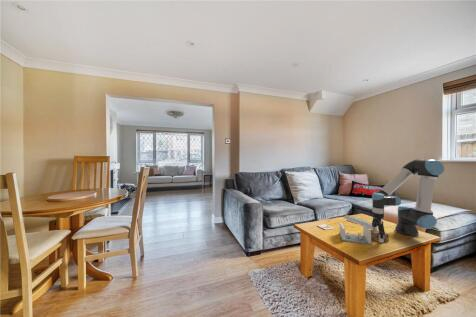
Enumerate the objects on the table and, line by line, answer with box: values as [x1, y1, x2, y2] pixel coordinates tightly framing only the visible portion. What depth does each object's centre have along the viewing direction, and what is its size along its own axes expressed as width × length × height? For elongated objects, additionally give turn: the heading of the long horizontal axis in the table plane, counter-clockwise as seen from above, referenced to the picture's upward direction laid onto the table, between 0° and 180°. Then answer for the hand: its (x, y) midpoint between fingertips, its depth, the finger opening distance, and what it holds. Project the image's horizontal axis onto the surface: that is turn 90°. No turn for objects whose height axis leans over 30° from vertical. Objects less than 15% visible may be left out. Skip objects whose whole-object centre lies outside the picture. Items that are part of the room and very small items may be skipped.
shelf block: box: [369, 229, 389, 242], centre depth 149 cm, size 12×6×6 cm, turn 76°
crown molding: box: [343, 214, 378, 230], centre depth 184 cm, size 31×12×4 cm, turn 15°
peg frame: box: [338, 222, 373, 246], centre depth 149 cm, size 20×14×10 cm
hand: (377, 238), depth 149 cm, fingers open, 13 cm apart
